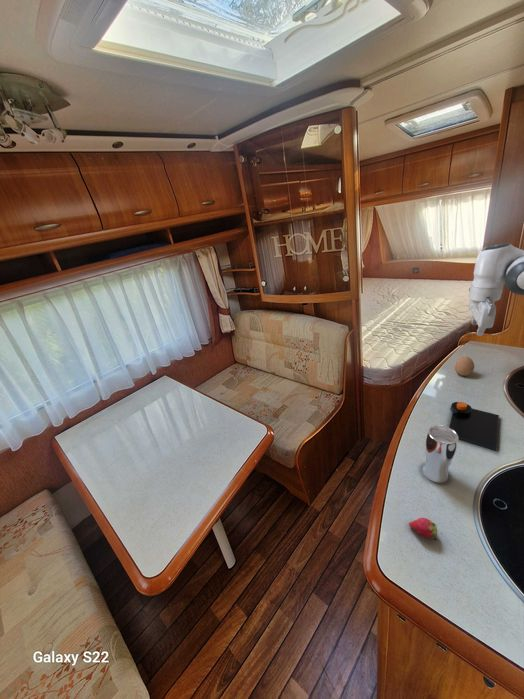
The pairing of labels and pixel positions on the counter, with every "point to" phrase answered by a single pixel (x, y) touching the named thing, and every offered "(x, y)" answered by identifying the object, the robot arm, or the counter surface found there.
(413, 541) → the counter surface
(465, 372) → the egg
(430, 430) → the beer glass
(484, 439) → the scale
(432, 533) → the fruit
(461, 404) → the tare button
